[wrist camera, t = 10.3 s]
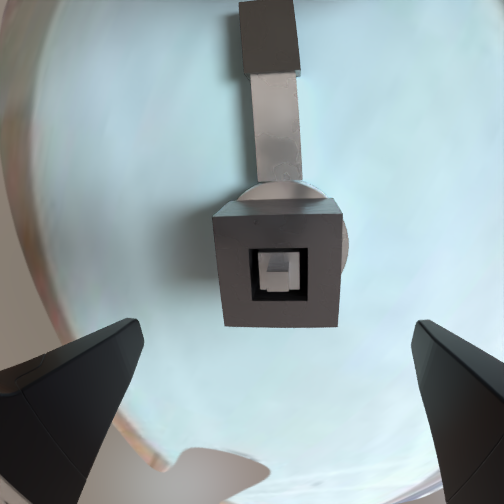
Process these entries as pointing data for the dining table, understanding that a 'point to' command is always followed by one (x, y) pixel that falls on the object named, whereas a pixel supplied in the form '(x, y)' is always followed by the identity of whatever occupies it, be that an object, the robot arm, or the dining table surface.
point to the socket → (279, 236)
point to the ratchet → (276, 127)
